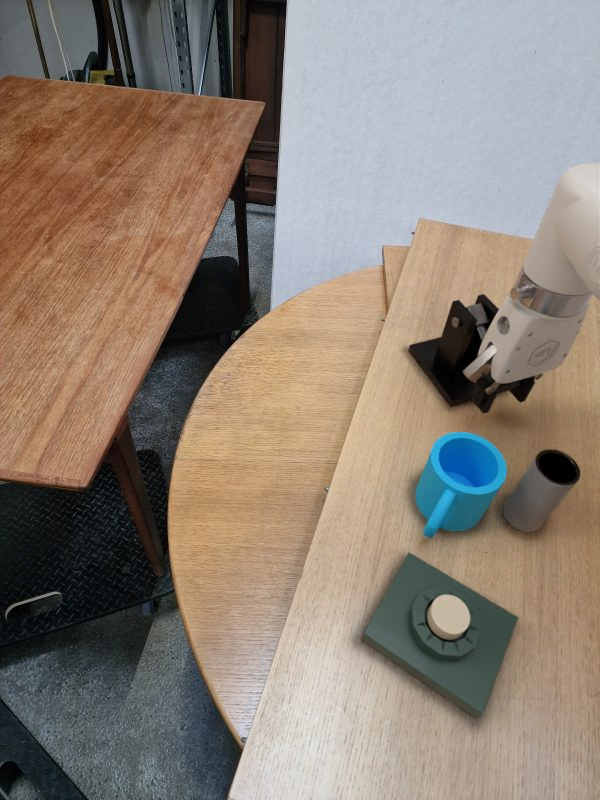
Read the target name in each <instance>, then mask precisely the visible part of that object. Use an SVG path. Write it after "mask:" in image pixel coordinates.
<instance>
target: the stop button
mask: <svg viewBox="0 0 600 800" xmlns="http://www.w3.org/2000/svg"><path fill="white" fill-rule="evenodd" d="M427 620H428V624H429V626H430V628H431V630H432V631H433V632H434V633H435V634H436V635H437V636H439V637H441V638H443V639H446V640H454V639H457V638H458V637H460V636H461V635H462V634H463V633H464V631H465V630H466V629H467V628H468V626H469V623H470V613H469V610H468V608H467V606H466V605H465V604H464V602H463V601H462V600H460V599H459V598H457V597H455V596H453V595H441V596H439V597H437V598H436V599H435V600H434V601H433V603H432V605H431V606H430V608H429V610H428V613H427Z"/></svg>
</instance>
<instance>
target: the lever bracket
mask: <svg viewBox="0 0 600 800" xmlns="http://www.w3.org/2000/svg"><path fill="white" fill-rule="evenodd" d="M479 303H481V304H482V306H483V308H484V311H485V313H486V315H487V317H488V320H489V322H488V323H487V324H486V325H484V328H485V330H486V332H487V331H488V329H489V327H490V325H491V323H492V321H493V319H494V317H495V316H496V314H497V312H498V310H499V309H500V308H499V307H498V306H496V304H495V303H493V301H492V300H491V299H490V298H488V296H487V295H485V293H482V294H478V295H477V297H476V300H475V303H474V305H475V304H479ZM466 307H467V306H466V305H464V303H462V302H461V301H460V299H456V300H453V301H452V303H451V305H450V309H449V311H448V313H447V314H448V315H447V318H446V320H445V324H444V327H443V330H442V333H441V336H439V337H435V338H431V339H428V340H424V341H420V342H416V343H412V344H409V346H408V349H407V351H408V352H409V354H410V355H411V356H412V358H413V359H414V361H415V362H416V363H417V365H418V366H419V367H420V368H421V370H422V371H423V373H424V374H425V375H426V377H427V378H428V379H429V380H430V382H431V383H432V384H433V386H434V387H435V388H436V390H437V391H438V393H439V394H440V395H441V397H442V398H443V399H444V400H445V402H446V403H447V404H448V406H449V407H450V408H451V407H453V406H458V405H460V404H461V405H462V404H464V403H468V402H470V401H472V399H471V395H472V392H473V390H474V388H475V385H476V383H474V382H472V381H470V380H469V379H468V378H467V377H466V375H465V374H464V373H463V371H464V370H465V369H466V368H467V367H468V366H469V365H470V364H471V363H472V362H473V361H474V360H475V359H476V358H477V357H478V352H479V349H480V345H479V342H478V340H477V338H476V336H475V333H474V331H473V330H474V328H475V325H476V323H477V319H476V318H475V317H474V316H473V315H472V314H471V312H470V311H469V310H468V309H467V308H466ZM486 377H488V379H489V380H490V381H492V379H493V378H492V376H491V371H490V372H489V373H488V375H487V376H486Z"/></svg>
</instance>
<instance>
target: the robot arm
mask: <svg viewBox="0 0 600 800" xmlns="http://www.w3.org/2000/svg"><path fill="white" fill-rule="evenodd" d="M592 296H594V297H595V298H596V299H598V301H600V162H583V163H580V164H576V165H574V166H571V167H569V168H568V169H567V170H566V171H565V172H564V173H563V174H562V175H561V177H559V179H558V181H557V183H556V186H555V188H554V190H553V192H552V195H551V197H550V199H549V201H548V204H547V206H546V209H545V212H544V214H543V216H542V217H541V221H540V223H539V225H538V229H537V230H536V233H535V234H534V237H533V240H532V241H531V244H530V247H529V249H528V251H527V253H526V256H525V258H524V261H523V263H522V266H521V268H520V270H519V272H518V274H517V277H516V280H515V282H514V284H513V286H512V288H511V289H510V291H509V294H507V296H506V298H505V299H504V301H503V303H502V304H501V305H500V307H499V308H498V309H499V310H498V312H497V314H496V316H495V317H494V319H493V321H492V323H491V325H490V327H489V329H488V331H487V333H486V335H485V337H484V339H483V342H482V344H481V346H480V349H479V352H478V357H477V358H476V359H475V360H474V361H473V362H472V363H471V364H470V365H469V366H468V367H467V368H466V369H465V370H464V371H463V373H464V374H465V375H466V377H467V378H468V379H469V380H470V381H472V382H474V383H476V385H475V388H474V390H473V392H472V395H471V399H472V400H471V401H472V403H473V404H474V405H475V406H476V407H477V409H478V410H479V411H480V413H482V414H483V415H485V414H488V413H489V412H490V410H491V408H492V406H493V404H494V401H495V399H496V398H497V396H498V394H497V392H496V391H495V390H496V389H497V387H498V386H499V385H500V383H502V384H503V383H510V382H514V381H518V380H521V379H523V382H524V384H523V386H522V387H519V388H516V389H513V390H509V391H508V392H509V393H510V394H511V395H512V396H513V397H514V398H515V400H516V401H517V402H518V403H524V402H526V401H527V398H528V396H529V395H530V393H531V391H532V389H533V388H534V386H535V384H536V381H538V380H540V379H541V378H542V377H544V374H545V373H548V372H551V371H554V370H556V369H558V368H560V367H561V366H562V365H563V363H564V362H565V361H566V359H567V357H568V355H569V353H570V351H571V350H572V348H573V346H574V344H575V342H576V340H577V337H578V335H579V333H580V331H581V329H582V327H583V324H584V322H585V319H586V316H587V313H588V309H589V305H590V299H591V298H592ZM490 371H491V376H492V378H493V379H492V381H490V380H489V379H488V377H486V376H487V375H488V373H489V372H490Z"/></svg>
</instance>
